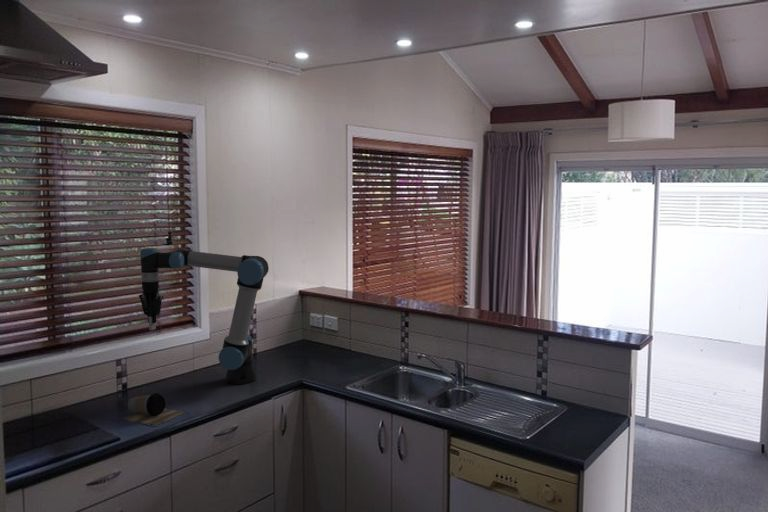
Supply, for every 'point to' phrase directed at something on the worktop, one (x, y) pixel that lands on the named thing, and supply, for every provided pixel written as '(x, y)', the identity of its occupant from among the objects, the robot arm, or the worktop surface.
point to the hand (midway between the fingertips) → (152, 329)
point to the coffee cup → (147, 404)
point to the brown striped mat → (153, 417)
